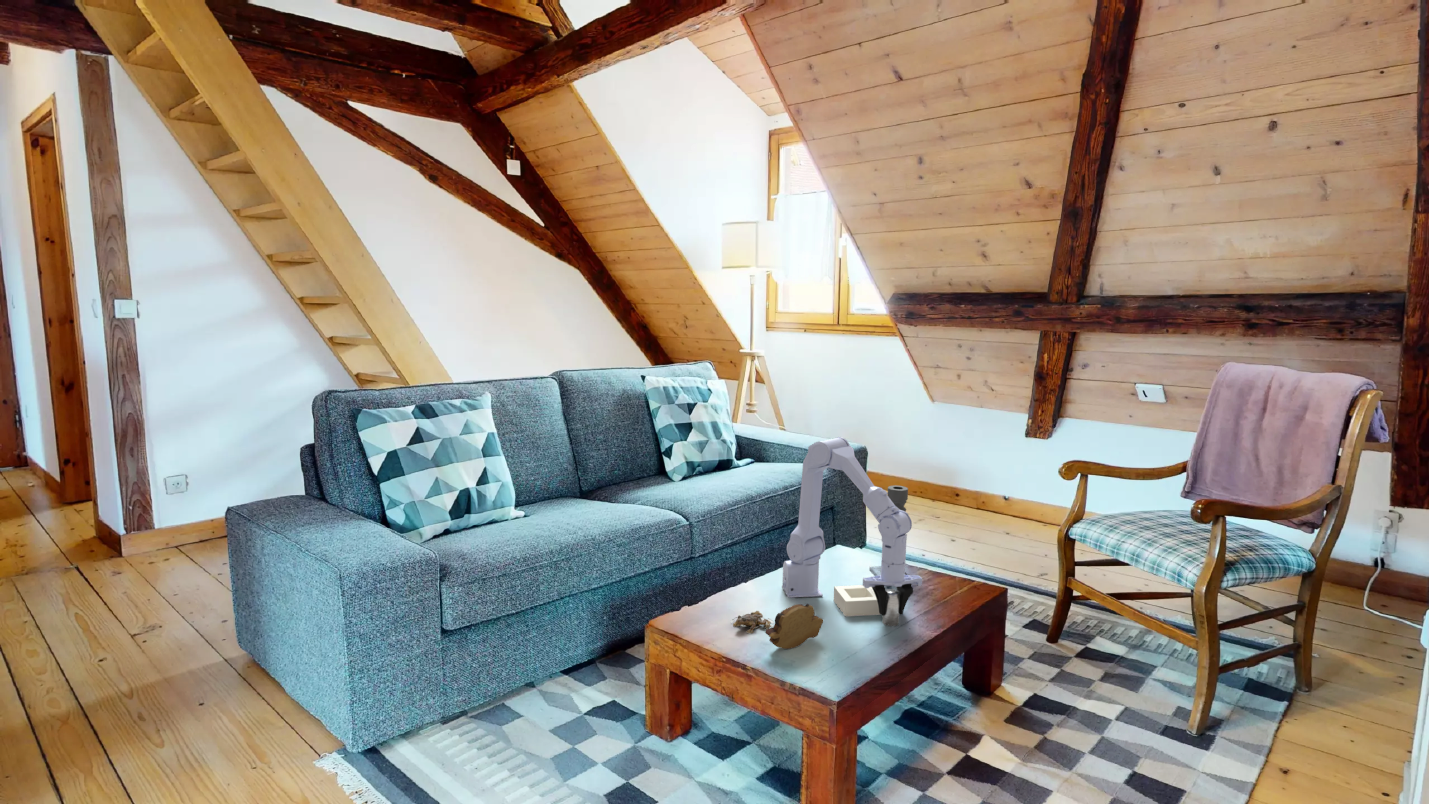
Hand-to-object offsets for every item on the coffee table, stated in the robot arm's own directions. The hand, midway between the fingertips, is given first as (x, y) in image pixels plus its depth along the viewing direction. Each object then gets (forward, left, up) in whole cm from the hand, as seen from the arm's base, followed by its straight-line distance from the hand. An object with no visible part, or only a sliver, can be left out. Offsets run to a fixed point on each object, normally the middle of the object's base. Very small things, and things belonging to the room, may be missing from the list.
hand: (890, 613), depth 200 cm
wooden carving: (-27, -9, -3) cm, 29 cm away
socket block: (-5, +10, -2) cm, 11 cm away
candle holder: (+14, +34, -3) cm, 37 cm away
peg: (0, 0, -2) cm, 2 cm away
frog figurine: (-34, +3, -3) cm, 34 cm away
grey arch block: (+2, +10, -2) cm, 11 cm away
